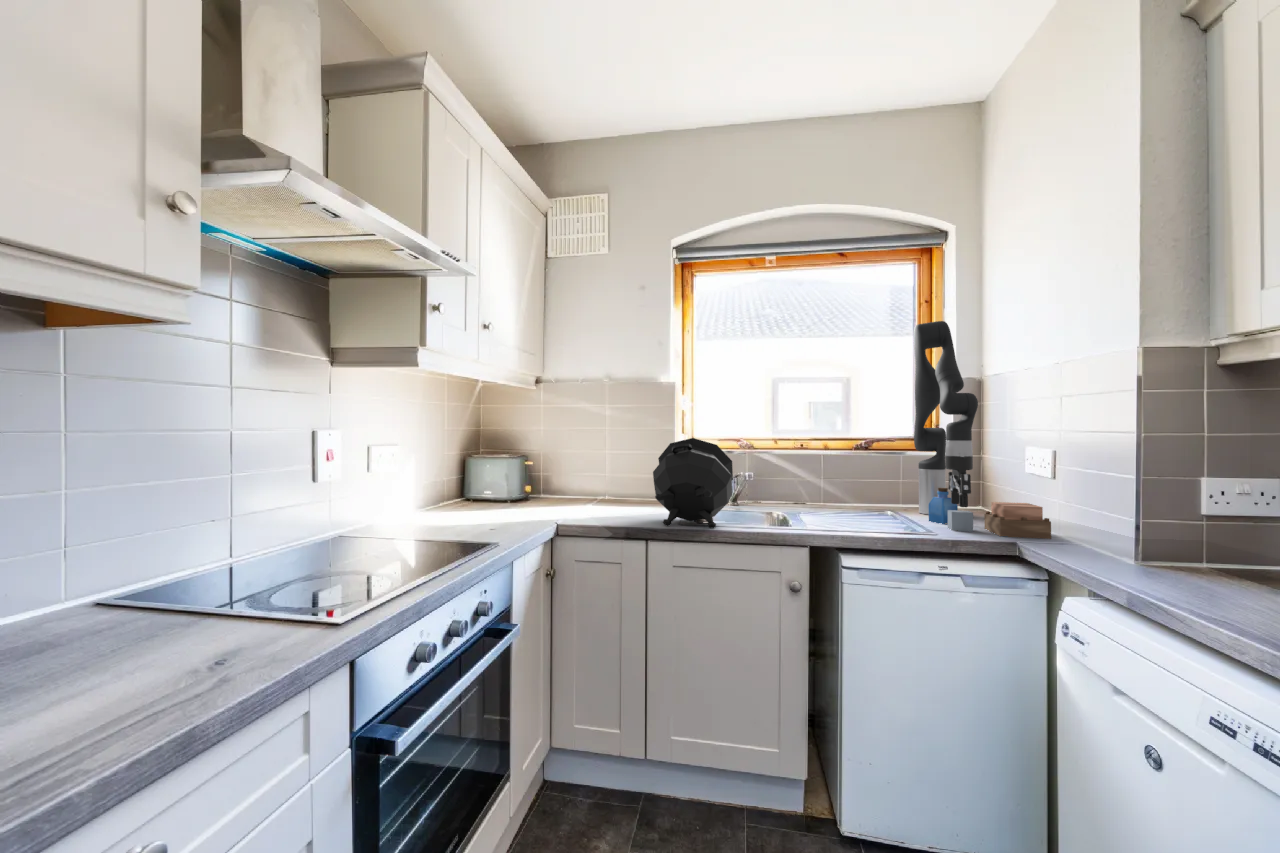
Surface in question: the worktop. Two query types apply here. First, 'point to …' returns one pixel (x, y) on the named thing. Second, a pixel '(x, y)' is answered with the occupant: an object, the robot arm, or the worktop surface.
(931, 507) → the perfume bottle
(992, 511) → the brown studded stepped block
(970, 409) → the robot arm
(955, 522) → the grey brick
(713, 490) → the cauldron
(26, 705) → the worktop surface
